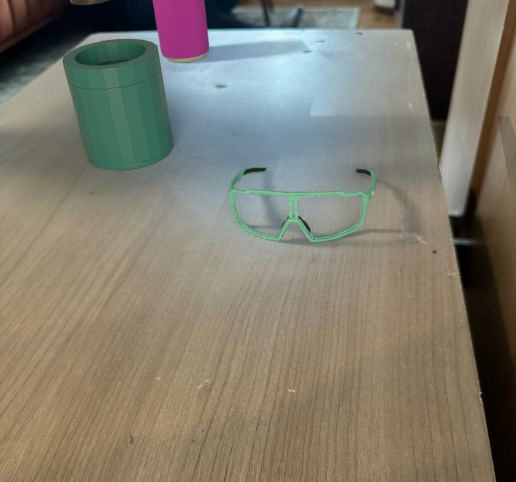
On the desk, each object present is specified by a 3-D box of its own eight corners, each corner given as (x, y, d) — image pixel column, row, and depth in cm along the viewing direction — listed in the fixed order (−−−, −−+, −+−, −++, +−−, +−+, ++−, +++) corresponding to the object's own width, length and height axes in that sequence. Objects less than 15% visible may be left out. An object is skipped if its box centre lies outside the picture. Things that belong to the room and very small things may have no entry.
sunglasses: (217, 243, 59) (212, 192, 56) (248, 182, 71) (245, 137, 68) (372, 249, 57) (375, 195, 54) (376, 184, 69) (379, 138, 66)
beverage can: (214, 59, 99) (204, -29, 91) (165, 67, 98) (151, -22, 90) (205, 45, 105) (196, -39, 97) (159, 52, 104) (145, -32, 96)
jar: (74, 169, 74) (47, 70, 66) (104, 132, 81) (83, 39, 74) (159, 170, 72) (141, 68, 65) (183, 132, 79) (168, 37, 72)
